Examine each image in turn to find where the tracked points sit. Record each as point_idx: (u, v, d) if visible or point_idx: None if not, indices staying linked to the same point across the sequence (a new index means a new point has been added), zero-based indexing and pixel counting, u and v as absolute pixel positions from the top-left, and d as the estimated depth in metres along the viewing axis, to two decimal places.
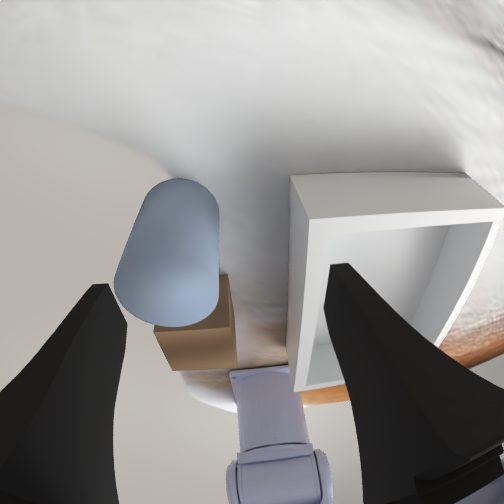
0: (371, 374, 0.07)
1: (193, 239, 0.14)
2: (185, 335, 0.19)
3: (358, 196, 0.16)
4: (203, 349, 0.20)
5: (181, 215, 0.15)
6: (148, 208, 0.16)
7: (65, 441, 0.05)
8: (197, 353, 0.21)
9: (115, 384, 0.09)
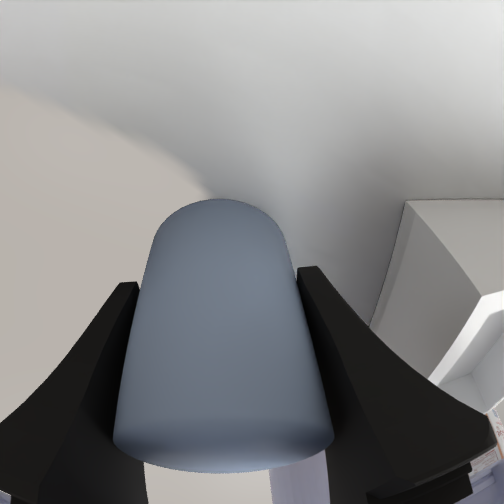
0: (331, 382, 0.07)
1: (290, 359, 0.06)
2: None
3: None
4: None
5: (251, 291, 0.07)
6: (169, 265, 0.08)
7: (101, 447, 0.05)
8: None
9: None
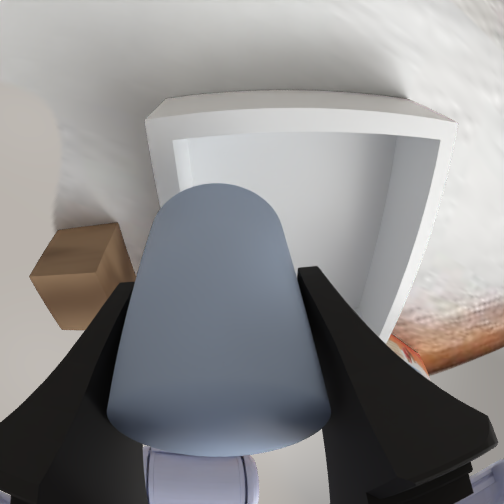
0: (332, 382, 0.07)
1: (278, 326, 0.06)
2: (56, 281, 0.15)
3: (227, 101, 0.12)
4: (79, 302, 0.17)
5: (237, 263, 0.07)
6: (162, 246, 0.08)
7: (101, 447, 0.05)
8: (75, 307, 0.17)
9: None
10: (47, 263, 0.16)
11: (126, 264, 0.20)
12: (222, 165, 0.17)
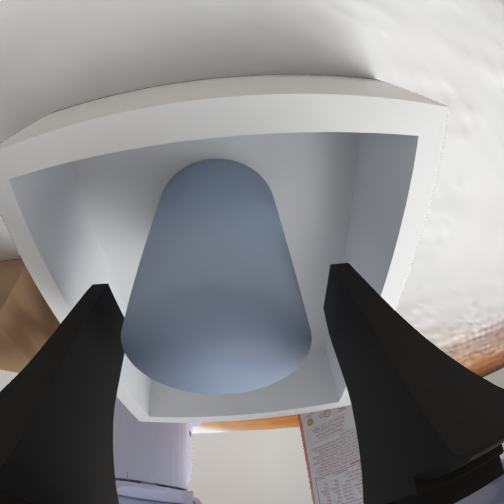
0: (371, 374, 0.07)
1: (263, 254, 0.08)
2: None
3: (81, 113, 0.08)
4: None
5: (232, 211, 0.09)
6: (171, 204, 0.10)
7: (65, 441, 0.05)
8: None
9: (115, 384, 0.09)
10: None
11: (46, 302, 0.16)
12: (115, 191, 0.12)
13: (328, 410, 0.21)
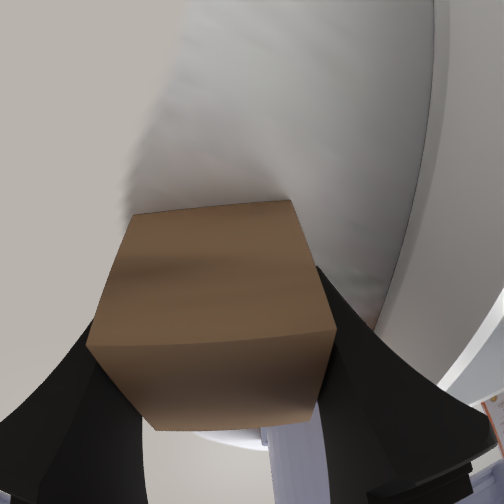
0: (332, 382, 0.07)
1: None
2: (184, 359, 0.06)
3: None
4: (237, 394, 0.07)
5: None
6: None
7: (100, 447, 0.05)
8: (217, 401, 0.07)
9: None
10: (137, 304, 0.06)
11: None
12: None
13: None
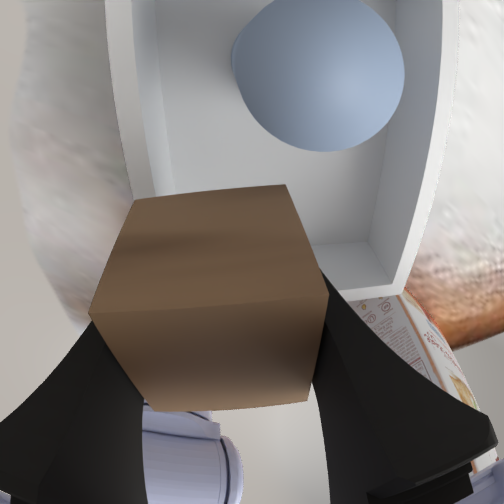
0: (332, 382, 0.07)
1: None
2: (183, 325, 0.06)
3: None
4: (234, 366, 0.07)
5: None
6: None
7: (101, 447, 0.05)
8: (215, 375, 0.08)
9: None
10: (139, 275, 0.07)
11: None
12: (193, 33, 0.12)
13: (372, 315, 0.20)
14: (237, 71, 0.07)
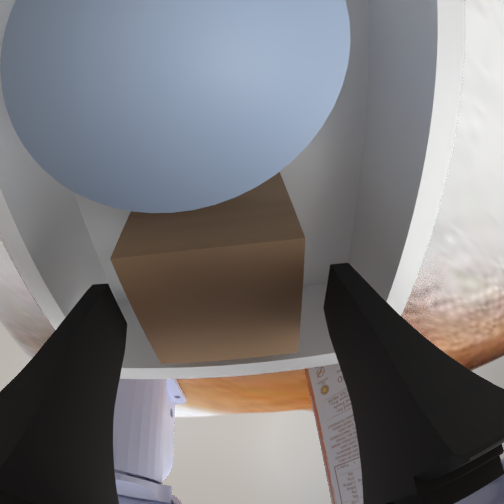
0: (371, 374, 0.07)
1: None
2: (188, 266, 0.08)
3: None
4: (231, 309, 0.09)
5: None
6: None
7: (65, 441, 0.05)
8: (214, 319, 0.09)
9: (115, 384, 0.09)
10: (152, 230, 0.08)
11: None
12: None
13: None
14: (5, 96, 0.03)
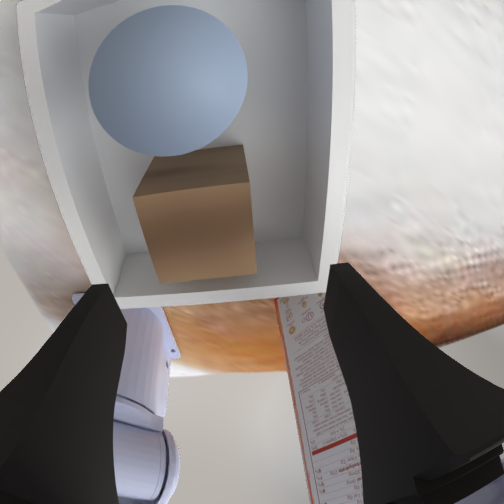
0: (371, 374, 0.07)
1: None
2: (180, 201, 0.13)
3: None
4: (207, 233, 0.14)
5: None
6: None
7: (65, 441, 0.05)
8: (196, 241, 0.14)
9: (115, 384, 0.09)
10: (158, 182, 0.13)
11: None
12: None
13: (311, 313, 0.21)
14: (90, 99, 0.08)
